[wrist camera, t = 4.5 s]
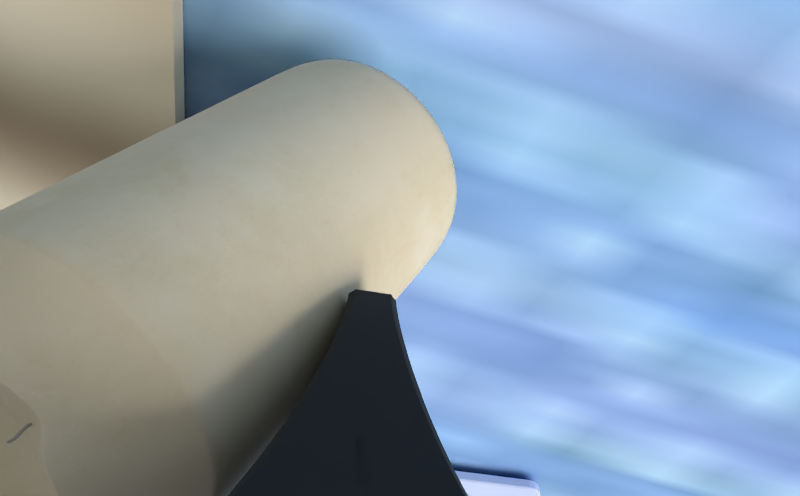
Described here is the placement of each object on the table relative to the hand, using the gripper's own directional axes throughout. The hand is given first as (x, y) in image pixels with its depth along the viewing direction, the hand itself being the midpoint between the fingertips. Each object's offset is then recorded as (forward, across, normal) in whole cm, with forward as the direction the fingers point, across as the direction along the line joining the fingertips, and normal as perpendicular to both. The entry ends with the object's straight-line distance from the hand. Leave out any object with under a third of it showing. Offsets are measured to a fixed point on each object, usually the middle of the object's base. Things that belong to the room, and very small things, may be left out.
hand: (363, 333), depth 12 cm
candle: (+6, 0, 0) cm, 6 cm away
